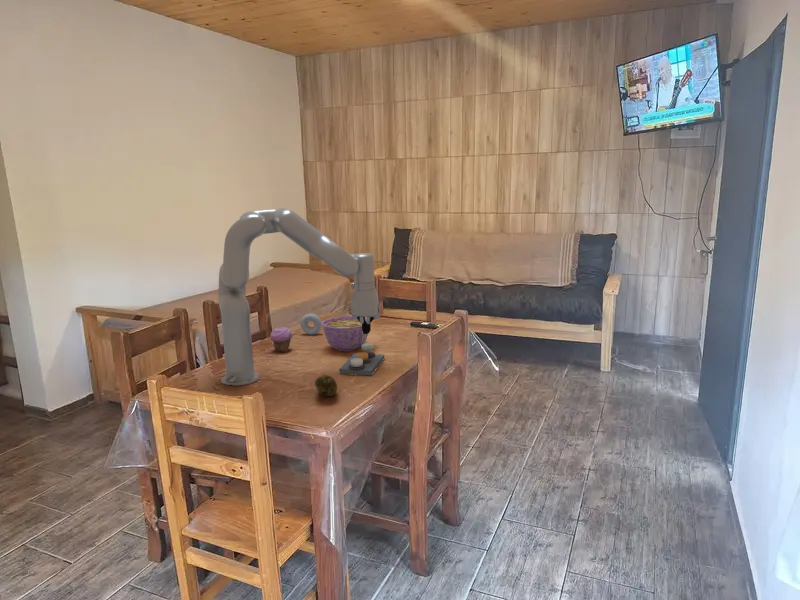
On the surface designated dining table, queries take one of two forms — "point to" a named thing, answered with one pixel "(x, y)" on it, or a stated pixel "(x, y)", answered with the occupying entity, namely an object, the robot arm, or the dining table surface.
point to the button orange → (362, 355)
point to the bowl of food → (344, 333)
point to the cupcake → (281, 339)
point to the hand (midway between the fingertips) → (366, 333)
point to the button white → (356, 362)
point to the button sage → (367, 347)
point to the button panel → (367, 366)
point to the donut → (311, 330)
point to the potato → (326, 385)
